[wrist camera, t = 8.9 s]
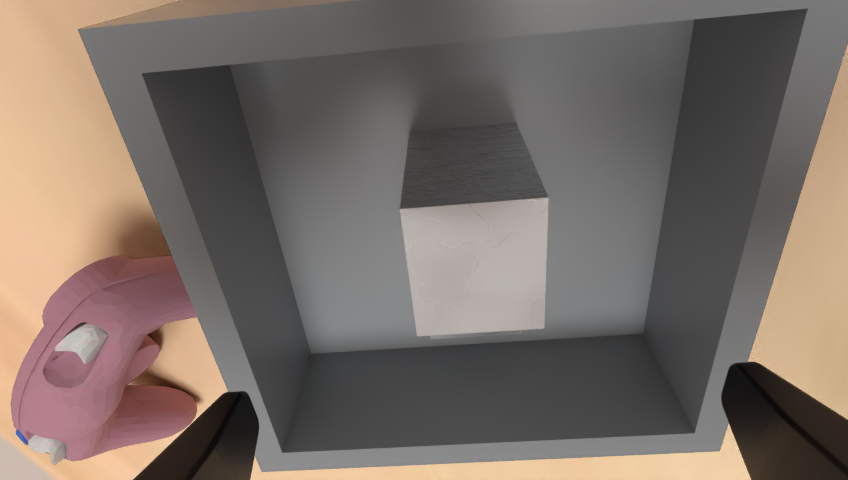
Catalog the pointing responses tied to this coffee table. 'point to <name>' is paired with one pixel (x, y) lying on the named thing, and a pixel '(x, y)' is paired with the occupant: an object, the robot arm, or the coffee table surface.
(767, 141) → the open box
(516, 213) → the grey stepped block
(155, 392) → the video game controller
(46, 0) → the coffee table surface
